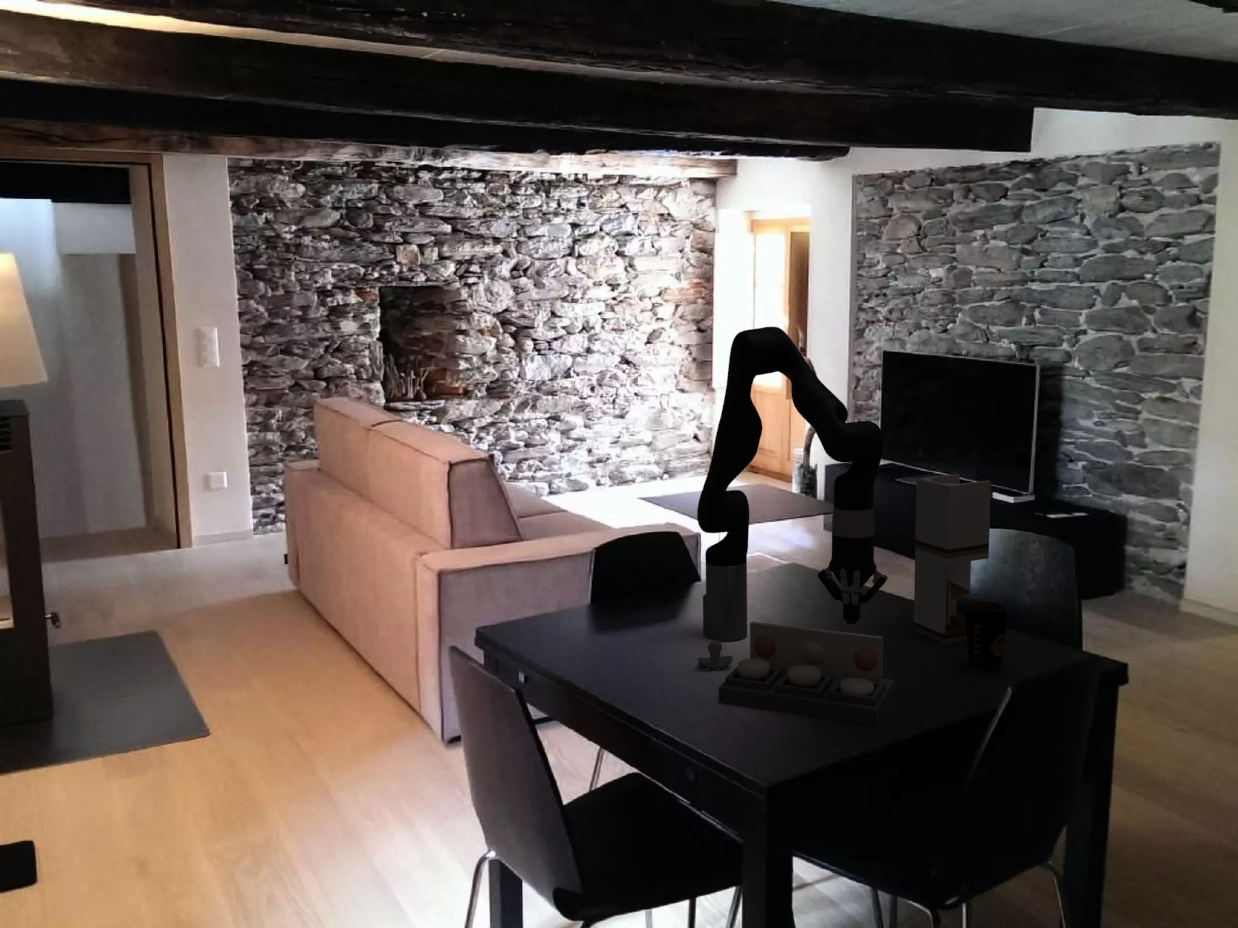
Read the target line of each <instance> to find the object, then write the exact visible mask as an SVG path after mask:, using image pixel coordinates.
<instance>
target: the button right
mask: <svg viewBox="0 0 1238 928" xmlns="http://www.w3.org/2000/svg"><path fill="white" fill-rule="evenodd" d="M840 692H841V693H848V694H856V695H863V696H870V697H871V696H872V694H873V693H874V684H873V683H872V682H871V681H869V680H866V679H861V678H849V679H845V680H842V681H841V683H840Z"/></svg>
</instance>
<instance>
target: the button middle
mask: <svg viewBox="0 0 1238 928" xmlns="http://www.w3.org/2000/svg"><path fill="white" fill-rule="evenodd" d="M788 681H789V683H791V684H793V685H796V686H804V687H808V686H815V685H818V684H819V683H820V669H818V668H817V667H814V666H809V665H797V666H793V667H790V668H789V669H788Z"/></svg>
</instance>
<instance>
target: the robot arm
mask: <svg viewBox="0 0 1238 928" xmlns="http://www.w3.org/2000/svg"><path fill="white" fill-rule="evenodd" d="M773 373H774V374H775V373H781V375H783V376H785V377H786V378H787V379H788V380H789V381H790V385H791V386H790V387H791V388H790V390H791V391H790V393H791V399H792V403H793V406H794V408H795V410H796V411H797V412H798V414H799V416H801V417H802V418H803V419H804V420H805V421H806V422H807V423H808V424H809V425H810V426H811V427H812V428H813V429H814V431H815V434H816V435H817V438H818V439H819V442H820V444H821V446H822V448H823V450H824V452H825V454H826V455H827V456H828V457H829V458H830V459H832V460H834V461H835V462H838V463H851V465H850V467H849V469H848V470H846V471H845V472H843V473H841V474H839V475H837V476H836V477H835V479H834V482H833V483H834V484H833V511H832V518H831V558H830V561H829V562H828V566H827V567H825V568H823V569H821V570H820V571H819V572H818V573H817V578H818V579H819V580H820V582H821V583H822V585H823V586H824V587H825V588H826V589H827V591H828V593H829V594H830V596H831V597H832V598H833V599H834V600H835V601H840V602H841V603H842V605H843V606H842V609H843V610H842V611H843V614H842V617H843V618H842V619H843V620H844V621H845V622H846V624H849V625H856V624H857V622H858V621H859V620H860V618H861V604H867V603H868V602H869V601H870V600H871V599H872V598H873V597H874V596H875V595H876V594H877V593H878V591H879V590H880V589H881V588H882V587H883V586H884V585H885V583H886V582H887V580H888V579H889V577H888V576H887V575H886V574H882V573H881V572H880V571H878V570H877V564H876V562H875V560H874V559H875V532H876V526H875V525H876V524H875V514H874V485H875V482H876V478H877V476H878V472H879V468H880V465H881V461H882V458H883V455H884V449H885V438H884V434H883V432H882V429H881V427H880V426H879V425H878V424H877V423H876V422H874V421H872V420H860V421H858V420H857V421H852V422H851V421H850V422H847V421H848V418H849V412H848V409H847V407H846V405H845V404H844V403H843V401H842V400H840V399H839V397H837V396H836V395H835V393H833V392H832V391H831V390H830V389H829V388H828V387H827V386H826V385H825V384H824V383H823V382H822V381H821V380H820V378H819V377H818V376H817V375H816V374H815V372H814V371H813V369H812V368H811V366H810V365H809V363H808V361H806V358H805V357H804V355H803V354H802V353H801V351H800V350H799V348H798V347H797V346H796V344H795V343H794V341H793V339H792V338H791V337H790V336H789V335H788V333H786V332H785V331H784V330H783V329H782V328H780V327H778V326H765V327H758V328H752V329H746V330H742V331H739V332H738V333H737V334H736V335H735V336H734V337H733V339H732V343H731V346H730V351H729V358H728V368H727V379H726V385H725V386H726V387H725V393H724V397H723V398H724V399H723V404H722V408H721V412H720V417H719V418H720V419H719V422H718V425H717V428H716V429H717V430H716V433H715V438H714V442H713V443H714V444H713V450H712V453H711V454H712V455H711V460H710V464H709V468H708V471H707V474H706V477H705V480H704V483H703V486H702V490H701V492H700V496H699V499H698V504H697V509H696V510H697V511H696V518H697V524H698V527H699V528H700V530H701V531H703V533H706V534H723V533H726V535H725V536H724V537H723V538H722V539H721V540H719V541H718V542H716V543H714V544H712V545H710V546H709V547H707V548H706V551H705V560H704V561H705V593H704V594H703V595H702V618H703V619H702V631H703V633H702V634H703V636H702V637H706V638H709V639H712V640H713V641H714V640H717V641H720V642H722V641H723V642H735V641H740V640H743V639H745V638H747V636H748V566H747V565H748V560H747V558H748V556H747V555H748V550H749V535H750V534H749V529H750V504H749V499H748V497H747V495H746V494H745V492H743V491H742V490H740V489H731V490H729V489H728V488H729V486H730V484H731V483H732V482H733V481H734V480H735V479H736V478H737V477H738V476H739V475H740V474H741V473H743V472H744V470H745V469H746V468H747V467H748V466H749V465H750V464H751V462H752V461H753V460H754V458H755V456H756V455H757V452H758V450H759V446H760V441H761V438H762V433H763V422H762V418H761V416H760V414H759V411H758V410H757V407H756V406H755V403H754V402H753V400H752V387H753V386H752V385H753V383H754V380H755V378H756V377H757V376H761V375H767V374H773ZM872 576H873V578H872V584H873V585H872V586H871V587H870V588H869V589H868V590H867V591H866V592H865V593H864V594H863V589H864V586H865V584H866V583H867V582H868V581H869V580H870V578H871V577H872ZM833 577H835V579H836V580H837V582H838V583H839V584H840V587H839V585H838V584H837V582H835V580H834V579H833Z"/></svg>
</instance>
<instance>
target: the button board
mask: <svg viewBox="0 0 1238 928" xmlns="http://www.w3.org/2000/svg"><path fill="white" fill-rule="evenodd" d="M883 655H884V636H883V635H882V636H881V635H880V636H879V635H871V634H863V633H855V632H854V633H853V632H847V631H846V632H845V631H839V630H838V631H836V630H828V629H820V628H819V629H818V628H810V627H802V626H793V625H785V624H777V623H767V622H758V621H751V622H750V623H749V656H750V657H749V659H762V660H765V661H767V662H768V663H769V676H768V677H766V678H763V679H746V678H742V677H740V676H739V675H738V665H737V666H736V667H735V668H734V669H733V670H732V671H731V672H730V673H729V674H727V676H726V677H725V678H724V681H723V682H722V683H721V684H720V685H719V686H718V703H719V702H721V704H725V705H726V704H727V705H734V706H739V707H741V706H742V707H745V708H747V707H748V708H754V709H760V710H767V711H775V712H778V713H779V712H780V713H787V714H794V715H800V716H807V717H813V718H821V719H827V720H834V721H840V722H848V723H853V724H854V723H855V724H859V725H860V724H861V725H868V726H874V727H877V726H878V725H879V723H880V721H881V720H882V719H883V716H884V714H885V713H886V711H887V709H888V707H889V706H890V703H891V702H892V700H893V699H894V697H895V695H896V694H895V693H896V679H891V678H883V672H884V670H883V667H884V664H883V663H884V662H883V661H884V656H883ZM797 665H809V666H814V667H817V668H818V669H820V683H819V684H818V685H815V686H808V687H804V686H796V685H793V684H791V683H789V681H788V669H789V668H790V667H793V666H797ZM849 678H861V679H866V680H869V681H871V682H872V683H873V684H874V693H873V694H872V696H871V697H870V696H863V695H856V694H848V693H841V692H840V683H841V681H842V680H845V679H849Z"/></svg>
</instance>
